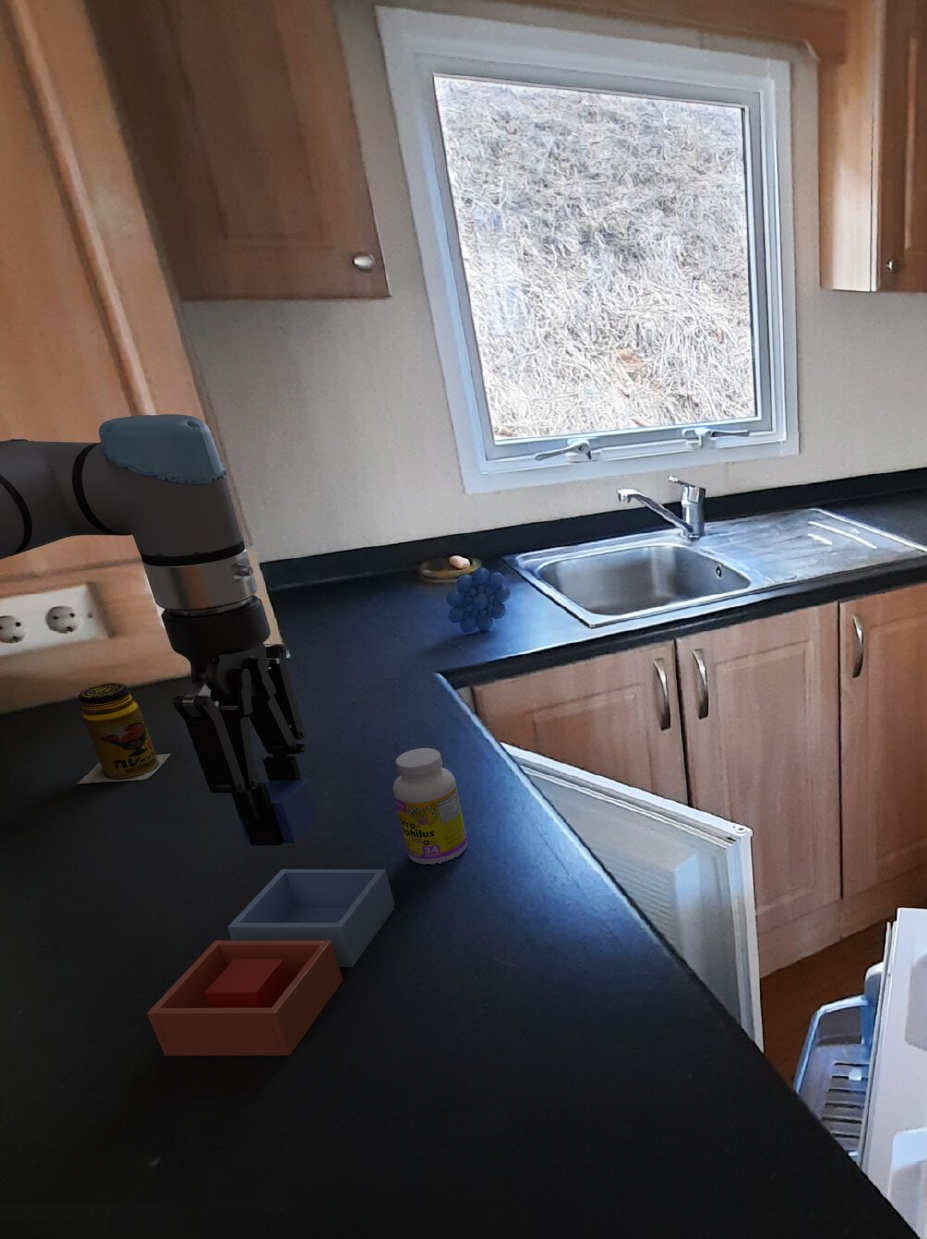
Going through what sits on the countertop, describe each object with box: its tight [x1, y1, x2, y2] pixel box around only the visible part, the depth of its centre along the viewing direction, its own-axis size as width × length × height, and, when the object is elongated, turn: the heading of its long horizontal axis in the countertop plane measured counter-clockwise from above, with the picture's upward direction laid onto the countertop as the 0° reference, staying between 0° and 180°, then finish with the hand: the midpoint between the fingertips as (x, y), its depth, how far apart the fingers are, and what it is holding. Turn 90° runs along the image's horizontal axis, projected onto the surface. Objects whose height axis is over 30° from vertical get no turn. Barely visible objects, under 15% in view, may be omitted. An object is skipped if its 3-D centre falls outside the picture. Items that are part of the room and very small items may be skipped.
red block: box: [205, 959, 290, 1008], centre depth 90 cm, size 4×4×4 cm
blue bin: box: [227, 868, 396, 968], centre depth 100 cm, size 11×10×5 cm
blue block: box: [234, 779, 319, 845], centre depth 94 cm, size 4×4×4 cm
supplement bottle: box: [392, 747, 468, 866], centre depth 113 cm, size 7×7×13 cm
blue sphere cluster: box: [446, 567, 511, 633], centre depth 180 cm, size 12×7×12 cm, turn 128°
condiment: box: [76, 682, 172, 785], centre depth 130 cm, size 7×8×12 cm
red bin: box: [146, 939, 344, 1057], centre depth 90 cm, size 11×10×5 cm
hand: (282, 828), depth 95 cm, fingers closed on blue block, 4 cm apart
